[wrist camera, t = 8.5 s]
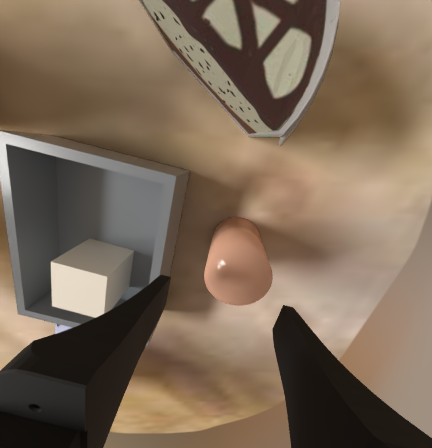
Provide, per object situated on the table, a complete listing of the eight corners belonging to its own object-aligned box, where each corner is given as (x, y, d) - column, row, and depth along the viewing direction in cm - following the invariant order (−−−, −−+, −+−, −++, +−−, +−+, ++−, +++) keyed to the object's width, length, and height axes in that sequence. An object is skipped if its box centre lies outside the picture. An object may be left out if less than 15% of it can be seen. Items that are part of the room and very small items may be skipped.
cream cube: (129, 286, 24) (103, 319, 19) (87, 275, 24) (51, 306, 19) (134, 250, 22) (107, 276, 17) (89, 238, 22) (50, 261, 17)
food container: (317, 92, 16) (432, 8, 7) (260, 149, 18) (290, 144, 9) (209, -46, 14) (165, -444, 5) (156, 34, 16) (47, -139, 6)
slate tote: (163, 310, 25) (147, 346, 20) (58, 284, 25) (18, 314, 20) (189, 170, 19) (176, 176, 14) (52, 135, 19) (-7, 129, 14)
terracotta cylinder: (251, 265, 22) (260, 312, 16) (208, 254, 22) (197, 296, 15) (266, 224, 20) (282, 257, 14) (218, 212, 20) (212, 239, 14)
